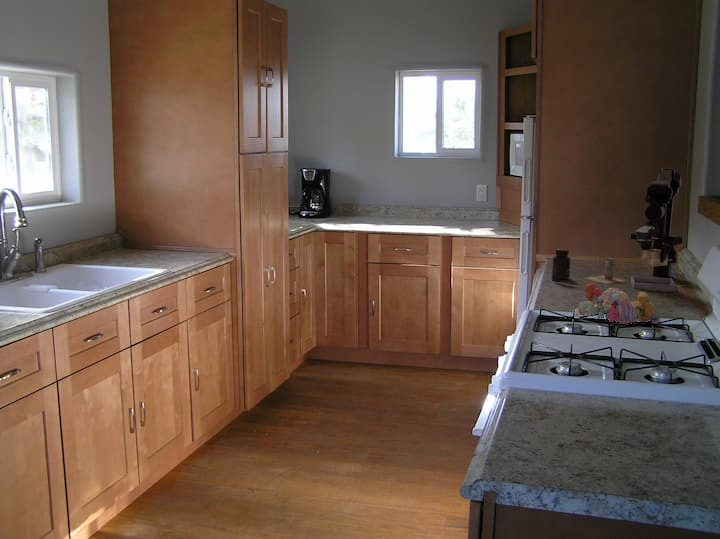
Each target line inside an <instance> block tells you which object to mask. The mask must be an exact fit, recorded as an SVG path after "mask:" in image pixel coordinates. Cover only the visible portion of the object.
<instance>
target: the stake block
mask: <svg viewBox="0 0 720 539" xmlns="http://www.w3.org/2000/svg"><path fill="white" fill-rule="evenodd" d="M604 260H605V268H604V269H605V270H604V271H605V272H604V274H603V275H595V276H588V277H582V279H584V280H588V281H593V282H598V283H602V284H612V283H613V284H614V283H620V282H629V279H624V278H618V277H615V276H614V262H615V261H616V260H615V258H611V257H610V258H609V257H605V258H604Z"/></svg>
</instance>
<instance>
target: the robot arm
mask: <svg viewBox="0 0 720 539" xmlns="http://www.w3.org/2000/svg"><path fill="white" fill-rule="evenodd" d="M656 176H657V177H656V180H655V181H654V180H653V181H652V182H651V183H650V184H649V186H647V191H646V196H645V203H646V204H647V203H648V204H649V206H647V207H646V208H645V211H644V216H645V218H646V219H647V220H646V221H645V225H644V226H641V227H640V228H638V229H636V230H632V232H631V233H630V235H629V236H630V237H629V238H630V239H631V240H635V243H638V244H639V245H640V247H641V251H642V250H650V249H656V250H661V258H660V260H661V263H663V262H664V261H665V259H666V257H667V255H668V262H667V265H664V266H656V267H655V266H652V267H653V269H652V274H650V275H649V277H650V276H652V277H654V278H671V279H673V278H675V277H674V276H673V275H671V273H672V264H675V263H677V257H678V256H677V251H676V247H675V246H677V245H678V246H679V245H683V237H682V236H681V235H676V234H675V235H674V234H671V232H672V222H673V221H672V220H673V214H674V213H673V212H674V210H673V209H674V203H675V202H674V201H675V199H676V197H677V195H678V194H679V193H680V189H681V187H682V183H683V182H682V174H680V173H679V172H677V171H676V169H675V168H672V167H671V168H670V167H669V168H668V167H662V168H660V171H659V173H657V175H656Z"/></svg>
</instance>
